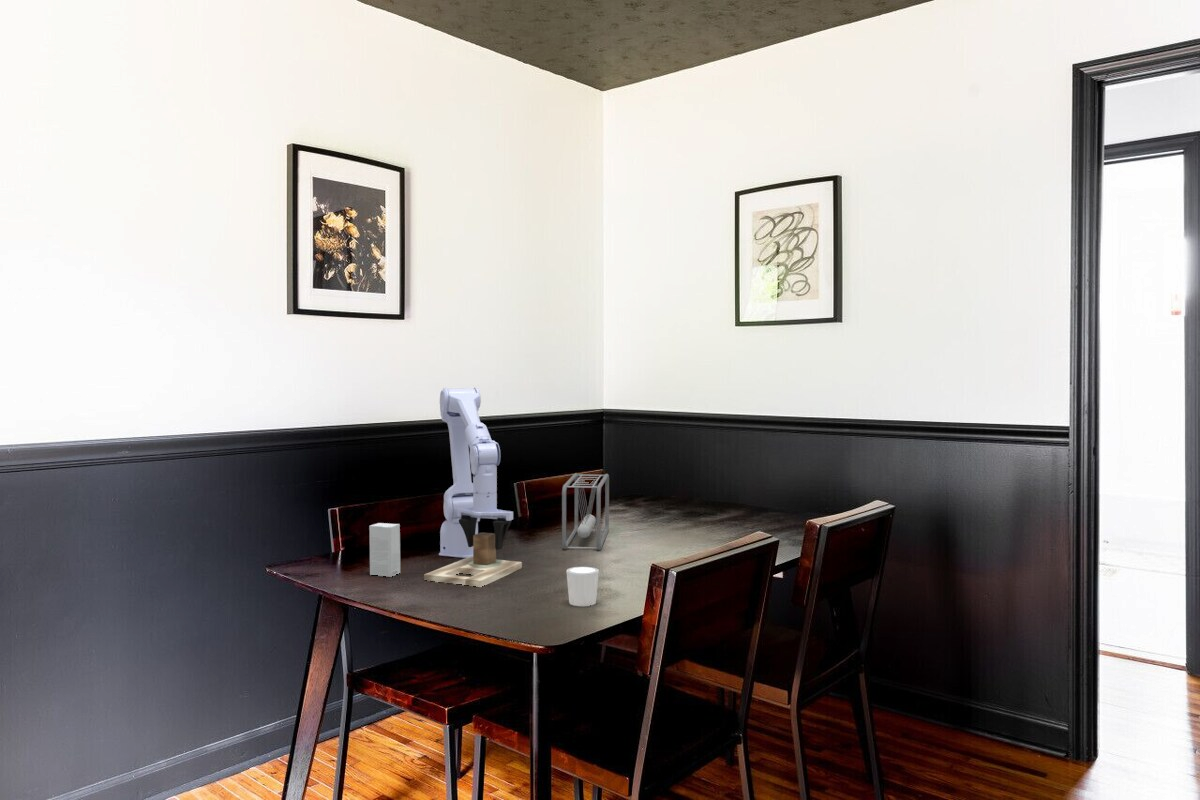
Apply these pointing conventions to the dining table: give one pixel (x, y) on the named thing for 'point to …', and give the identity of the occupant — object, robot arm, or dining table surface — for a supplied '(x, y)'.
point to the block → (484, 548)
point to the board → (473, 572)
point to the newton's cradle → (589, 519)
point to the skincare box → (384, 549)
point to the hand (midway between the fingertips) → (485, 547)
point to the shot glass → (582, 585)
